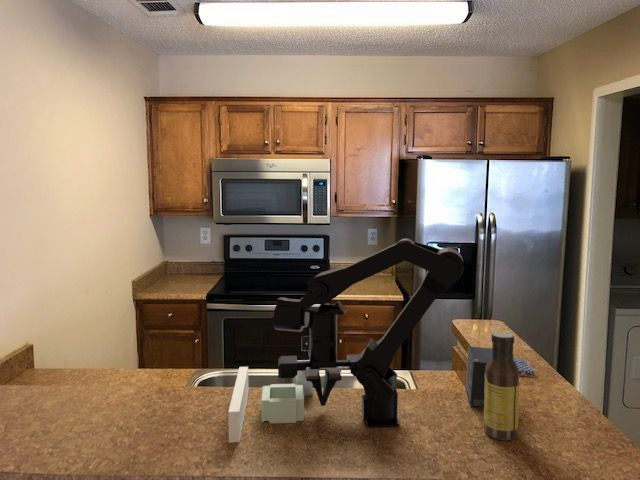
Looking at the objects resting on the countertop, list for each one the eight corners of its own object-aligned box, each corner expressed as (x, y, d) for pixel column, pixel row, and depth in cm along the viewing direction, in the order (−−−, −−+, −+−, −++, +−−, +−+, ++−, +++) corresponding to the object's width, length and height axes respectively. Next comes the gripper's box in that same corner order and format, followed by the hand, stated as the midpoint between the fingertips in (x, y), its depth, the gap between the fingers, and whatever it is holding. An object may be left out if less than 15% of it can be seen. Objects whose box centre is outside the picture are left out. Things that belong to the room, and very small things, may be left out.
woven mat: (494, 377, 120) (494, 369, 120) (485, 362, 130) (485, 354, 130) (537, 379, 118) (537, 371, 118) (524, 364, 129) (525, 357, 129)
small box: (501, 411, 100) (503, 363, 99) (469, 408, 102) (471, 361, 101) (493, 390, 111) (495, 347, 110) (464, 387, 112) (466, 345, 111)
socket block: (302, 403, 103) (302, 383, 103) (304, 422, 95) (304, 401, 94) (263, 404, 103) (263, 384, 102) (261, 423, 94) (261, 402, 94)
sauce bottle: (499, 422, 95) (503, 327, 93) (524, 437, 90) (530, 336, 88) (475, 429, 92) (479, 331, 90) (500, 445, 87) (505, 340, 85)
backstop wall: (248, 391, 109) (248, 366, 108) (239, 442, 87) (239, 411, 87) (239, 391, 109) (239, 366, 108) (228, 442, 87) (228, 411, 86)
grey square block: (311, 388, 111) (311, 360, 110) (312, 395, 107) (312, 365, 107) (296, 389, 111) (296, 360, 110) (296, 395, 107) (297, 366, 106)
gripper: (361, 321, 106) (360, 387, 108) (278, 322, 105) (278, 389, 106) (370, 337, 95) (368, 410, 97) (278, 338, 94) (278, 413, 95)
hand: (322, 404), depth 99 cm, fingers closed
